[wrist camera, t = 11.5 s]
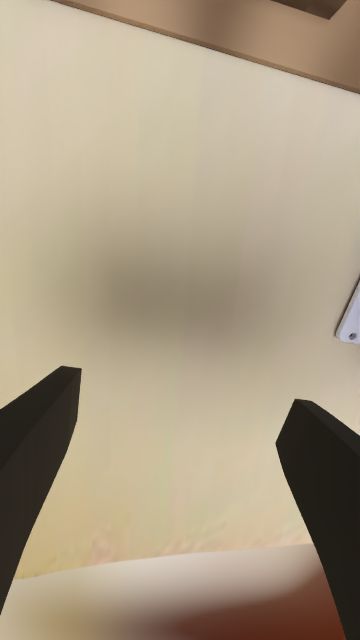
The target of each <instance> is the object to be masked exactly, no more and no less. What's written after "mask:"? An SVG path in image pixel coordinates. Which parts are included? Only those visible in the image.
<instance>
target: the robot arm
mask: <svg viewBox="0 0 360 640" xmlns="http://www.w3.org/2000/svg"><path fill="white" fill-rule="evenodd" d="M352 333H353V335H352V336H351V337H349V336H350V334H352ZM336 337H337V338H338V339H339V340H340V341H343V342H349V343H354V344H360V282H359V284H358V286H357V288H356V290H355V292H354V295H353V297H352V299H351V301H350V303H349V306H348V308H347V310H346V312H345V314H344V316H343V319H342V321H341V323H340V325H339V327H338V330H337V332H336ZM81 370H82V369H81V368H74V367H67V366H60V367H59V368H57V369H56V370H55V371H53V372H52V373H51V374H49V375H48V376H47V377H45V378H44V379H43V380H41V381H40V382H39V383H37V384H36V385H34V386H33V387H32V388H30V389H29V390H28V391H26V392H25V393H23V394H22V395H20V396H19V397H18V398H16V399H15V400H13V401H12V402H10V403H9V404H8V405H6V406H5V407H3V408H2V409H0V614H1V611H2V609H3V606H4V603H5V600H6V597H7V594H8V592H9V589H10V586H11V583H12V580H13V578H14V575H15V572H16V569H17V567H18V564H19V561H20V558H21V555H22V553H23V550H24V547H25V545H26V542H27V540H28V538H29V535H30V533H31V530H32V528H33V526H34V523H35V521H36V519H37V517H38V515H39V512H40V510H41V508H42V506H43V503H44V501H45V499H46V497H47V495H48V492H49V490H50V488H51V486H52V483H53V481H54V479H55V477H56V475H57V472H58V470H59V468H60V466H61V463H62V461H63V459H64V457H65V454H66V452H67V450H68V446H69V443H70V440H71V437H72V434H73V431H74V428H75V425H76V422H77V415H78V404H79V393H80V382H81ZM275 444H276V447H277V451H278V455H279V459H280V462H281V465H282V469H283V472H284V475H285V477H286V480H287V482H288V485H289V487H290V489H291V492H292V494H293V497H294V499H295V501H296V504H297V506H298V508H299V511H300V513H301V515H302V517H303V520H304V522H305V524H306V527H307V529H308V531H309V534H310V536H311V538H312V541H313V543H314V545H315V548H316V550H317V553H318V555H319V558H320V561H321V563H322V566H323V568H324V571H325V574H326V577H327V580H328V583H329V586H330V589H331V592H332V595H333V598H334V601H335V604H336V607H337V610H338V614H339V617H340V620H341V623H342V626H343V630H344V633H345V636H346V639H347V640H360V436H359V435H358V434H357V433H355V432H354V431H353V430H351V429H350V428H349V427H347V426H346V425H345V424H343V423H342V422H341V421H339V420H338V419H337V418H335V417H334V416H333V415H331V414H330V413H329V412H327V411H326V410H324V409H323V408H321V407H320V406H318V405H317V404H315V403H314V402H312V401H308V400H301V399H295V400H294V402H293V404H292V407H291V409H290V411H289V413H288V416H287V418H286V420H285V422H284V425H283V427H282V429H281V432H280V434H279V436H278V438H277V441H276V443H275Z"/></svg>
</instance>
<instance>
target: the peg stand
mask: <svg viewBox="0 0 360 640" xmlns="http://www.w3.org/2000/svg"><path fill="white" fill-rule="evenodd" d="M53 1H56V2H59V3H62V4H66V5H69V6H72V7H76V8H79V9H82V10H86V11H89V12H92V13H95V14H99V15H102V16H105V17H109V18H112V19H115V20H119V21H122V22H125V23H128V24H132V25H135V26H138V27H142V28H145V29H148V30H152V31H155V32H158V33H161V34H165V35H168V36H171V37H175V38H178V39H181V40H184V41H188V42H191V43H194V44H198V45H201V46H204V47H208V48H211V49H214V50H217V51H221V52H224V53H227V54H231V55H234V56H237V57H241V58H244V59H247V60H250V61H254V62H257V63H260V64H264V65H267V66H270V67H274V68H277V69H280V70H283V71H287V72H290V73H293V74H297V75H300V76H303V77H306V78H310V79H313V80H316V81H320V82H323V83H326V84H330V85H333V86H336V87H339V88H343V89H346V90H349V91H353V92H356V93H359V94H360V0H53Z"/></svg>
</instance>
